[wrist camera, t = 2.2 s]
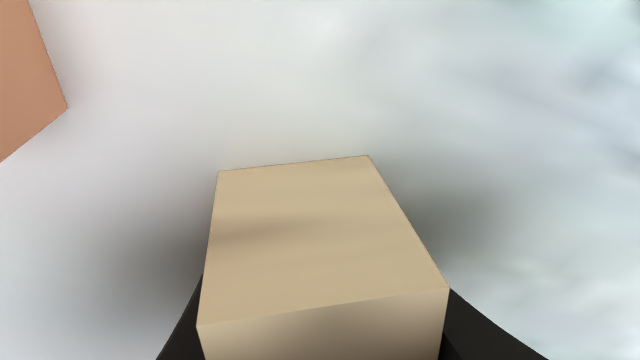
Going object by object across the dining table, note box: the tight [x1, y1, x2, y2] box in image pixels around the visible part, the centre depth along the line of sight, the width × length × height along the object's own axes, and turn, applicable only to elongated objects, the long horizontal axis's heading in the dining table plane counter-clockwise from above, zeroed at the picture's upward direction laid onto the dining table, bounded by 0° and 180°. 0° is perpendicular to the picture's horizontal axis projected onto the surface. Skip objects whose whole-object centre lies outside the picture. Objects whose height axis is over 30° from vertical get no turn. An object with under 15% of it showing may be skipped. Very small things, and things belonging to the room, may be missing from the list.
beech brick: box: [196, 155, 450, 360], centre depth 10 cm, size 6×4×5 cm, turn 2°
